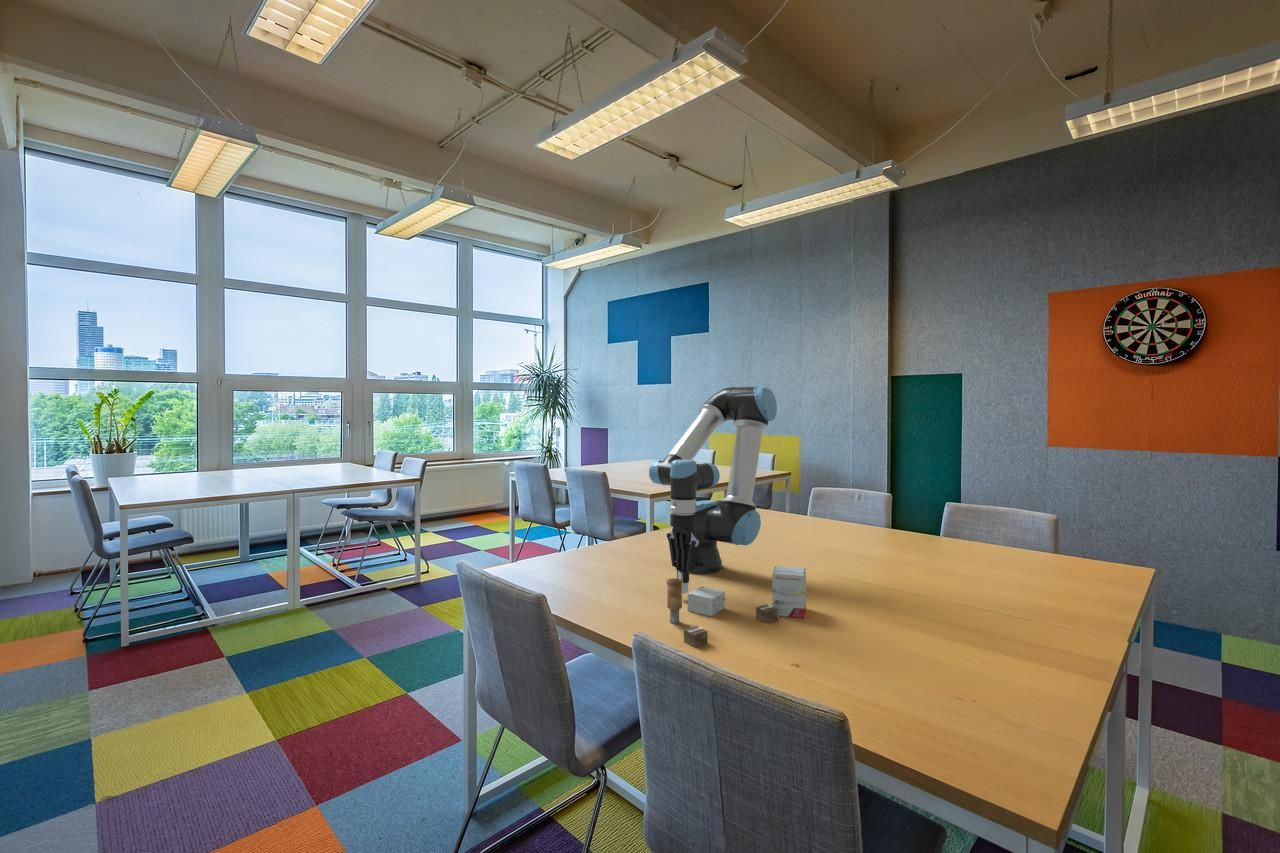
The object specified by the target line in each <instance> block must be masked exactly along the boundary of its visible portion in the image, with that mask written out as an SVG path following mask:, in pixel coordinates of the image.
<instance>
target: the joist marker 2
mask: <svg viewBox="0 0 1280 853" xmlns="http://www.w3.org/2000/svg"><path fill="white" fill-rule="evenodd" d="M778 617H779V616H778V608H775V607H773V605H771V604H764V605H763V604H762V605H760V606H757V607H755V619H756V620H759V621H761V622H764V623H766V624H768V623H771V622H772V623H773V622H775V621H777V620H778V619H779V618H778Z"/></svg>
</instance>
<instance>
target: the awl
mask: <svg viewBox="0 0 1280 853" xmlns="http://www.w3.org/2000/svg"><path fill="white" fill-rule="evenodd" d="M666 584H667V589H666V590H667V591H666V592H667V601H666V602H667V608H668V609H669V620H670V621H669V622H670V624H673V625H676V624H680V610H681V609H682V607H683V594H682V584H683V581H682V580H681V579H677V577H676V578H674V577H673V578H668V579H667V580H666Z"/></svg>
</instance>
